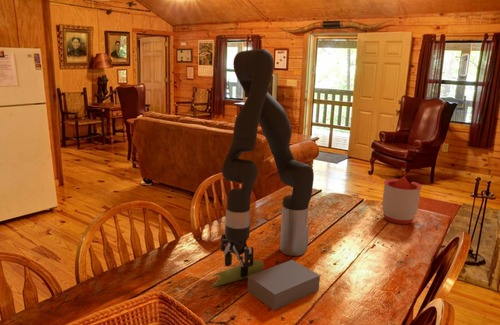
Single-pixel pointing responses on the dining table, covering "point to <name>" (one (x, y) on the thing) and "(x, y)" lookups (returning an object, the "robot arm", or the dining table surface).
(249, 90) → the robot arm
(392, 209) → the citrus juicer
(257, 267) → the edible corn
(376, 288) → the dining table surface
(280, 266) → the plinth
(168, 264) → the dining table surface
